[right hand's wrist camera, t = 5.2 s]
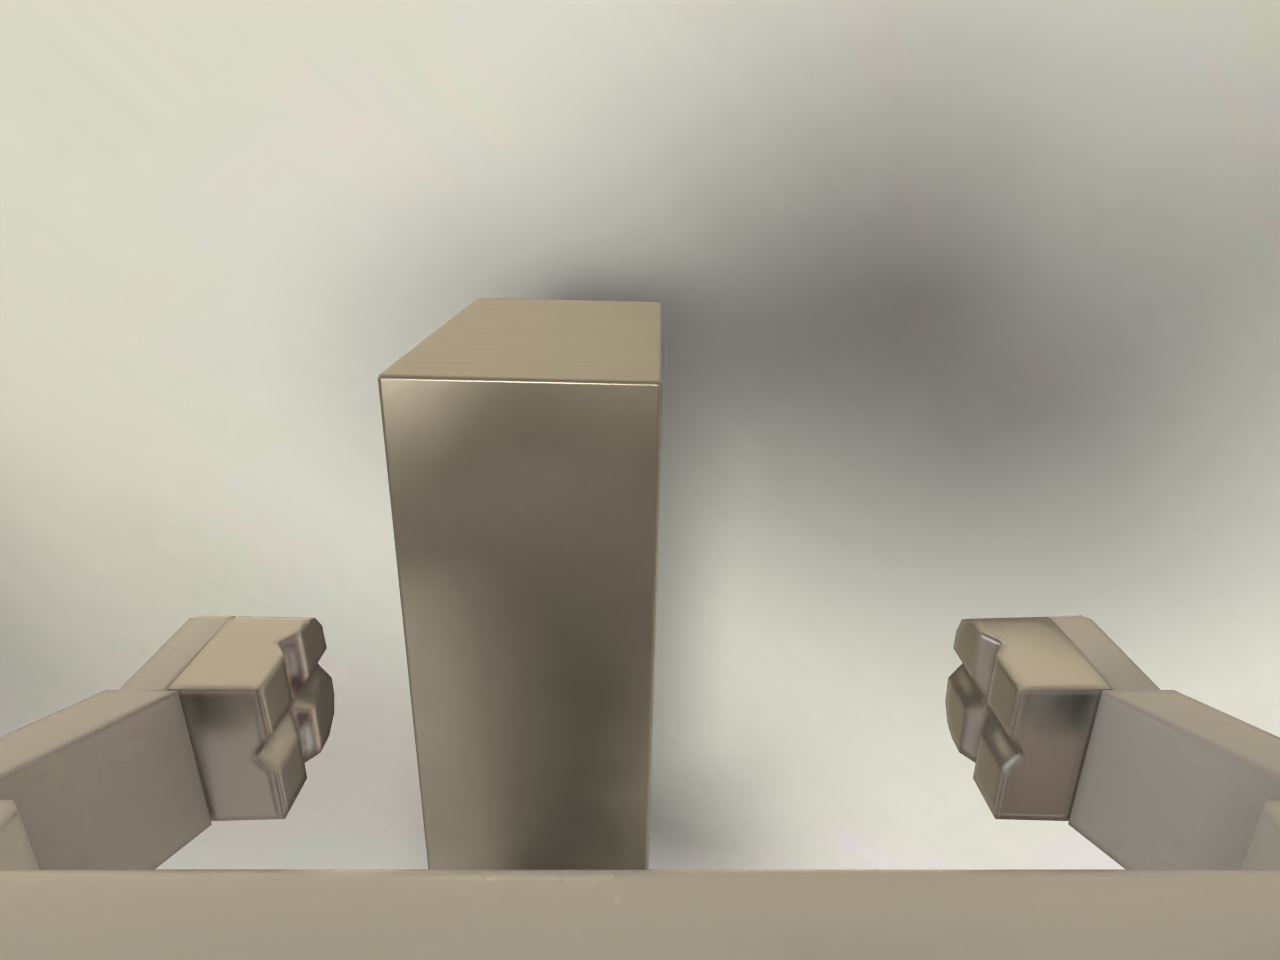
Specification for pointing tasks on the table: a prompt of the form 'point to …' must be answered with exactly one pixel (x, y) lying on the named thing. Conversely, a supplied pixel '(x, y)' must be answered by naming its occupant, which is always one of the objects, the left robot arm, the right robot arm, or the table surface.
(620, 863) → the bar
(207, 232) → the table surface
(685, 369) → the table surface
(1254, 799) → the right robot arm
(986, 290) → the table surface
